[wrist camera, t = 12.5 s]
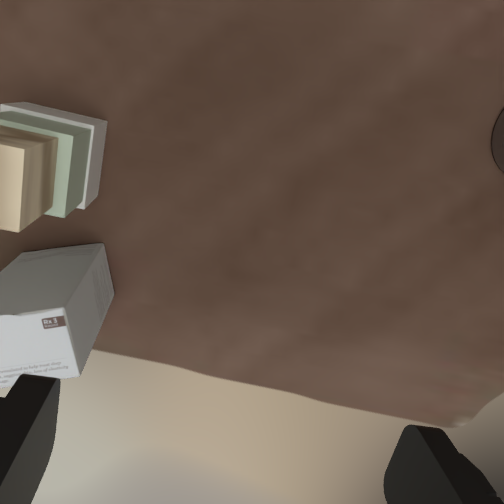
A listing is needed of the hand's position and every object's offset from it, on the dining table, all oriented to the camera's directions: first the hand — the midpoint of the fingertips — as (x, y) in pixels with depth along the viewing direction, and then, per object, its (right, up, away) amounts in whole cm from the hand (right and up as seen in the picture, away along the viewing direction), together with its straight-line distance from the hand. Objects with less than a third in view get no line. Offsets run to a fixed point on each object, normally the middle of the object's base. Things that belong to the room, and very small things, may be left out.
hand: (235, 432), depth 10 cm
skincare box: (-18, +2, +34) cm, 39 cm away
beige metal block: (-16, +10, +21) cm, 28 cm away
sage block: (-16, +12, +25) cm, 32 cm away
